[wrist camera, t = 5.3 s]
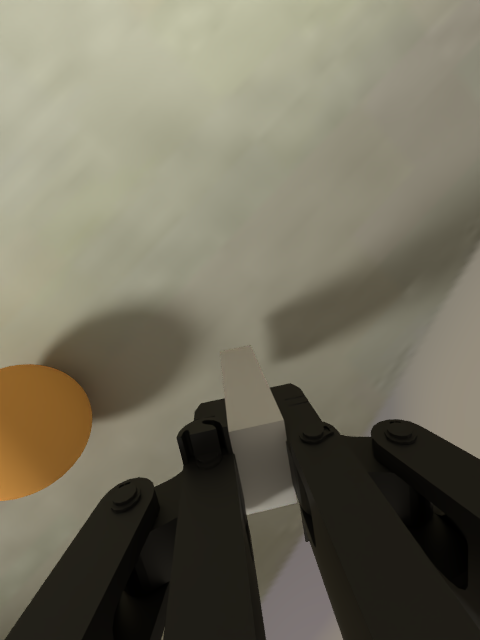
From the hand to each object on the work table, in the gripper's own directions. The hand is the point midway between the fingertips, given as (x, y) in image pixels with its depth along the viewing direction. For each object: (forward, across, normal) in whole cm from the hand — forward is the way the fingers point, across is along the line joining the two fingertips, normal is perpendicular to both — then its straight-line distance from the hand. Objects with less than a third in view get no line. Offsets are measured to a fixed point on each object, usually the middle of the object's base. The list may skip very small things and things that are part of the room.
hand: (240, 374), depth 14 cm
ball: (-1, +10, 0) cm, 10 cm away
